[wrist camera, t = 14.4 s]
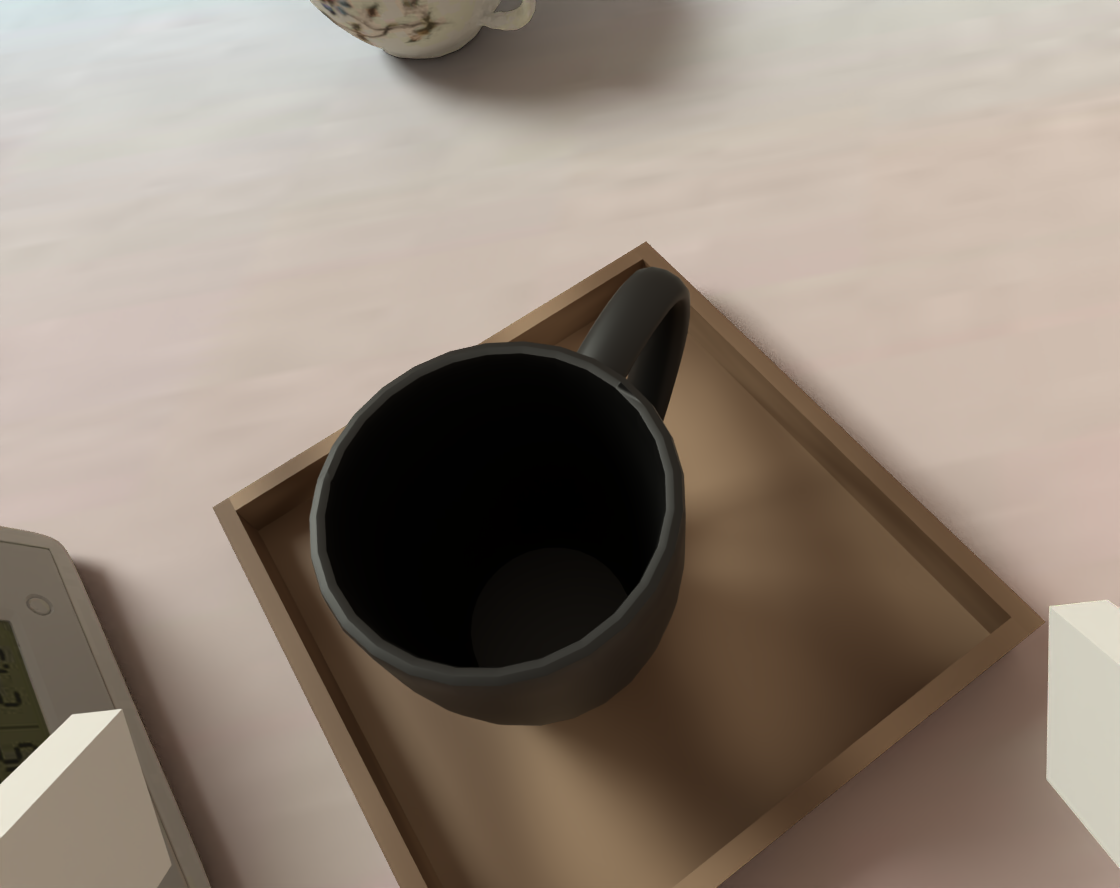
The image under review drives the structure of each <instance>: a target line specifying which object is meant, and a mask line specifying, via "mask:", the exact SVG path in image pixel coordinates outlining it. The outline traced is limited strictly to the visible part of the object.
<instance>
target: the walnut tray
mask: <svg viewBox="0 0 1120 888" xmlns="http://www.w3.org/2000/svg"><path fill="white" fill-rule="evenodd" d="M648 267H658V268H661V269H665V270H668V271H670V272H671V273H673V274H674V275H676V276H677V277H679V278H680V279H681V280H682V282H683V283H684V284H685V286H686V287H687V288H688V290H689V293H690V320H689V327H688V333H687V338H686V343H685V347H684V351H683V355H682V359H681V363H680V367H679V370H678V374H677V377H676V381H675V384H674V388H673V391H672V395H671V398H670V401H669V405H668V408H667V411H666V415H665V418H664V421H663V422H664V424H665V426H666V427H667V429H668V431H669V432H670V434H671V436H672V437H673V440H674V443H675V446H676V450H677V453H678V456H679V459H680V463H681V466H682V469H683V473H684V484H685V508H686V532H685V563H684V570H683V575H682V580H681V585H680V590H679V595H678V600H677V604H676V606H675V609H674V612H673V615H672V617H671V619H670V621H669V623H668V626H667V628H666V630H665V632H664V634H663V636H662V638H661V641H660V643H659V645H658V647H657V649H656V650H655V652H654V653H653V655H652V656H651V657H650V659H649V660H648V661H647V663H646V664H645V665H644V666H643V668H642V669H641V670H640V671H639V673H638V674H637V675H636V677H635V678H634V679H633V680H632V682H631V683H629V684H628V685H627V686H626V687H624V688H623V689H622V690H621V691H619V692H618V693H617V694H616V695H614V696H613V697H612V698H611V699H609V700H608V701H607V702H606V703H604V704H602V705H600V706H598V707H596V708H594V709H592V710H590V711H588V712H586V713H584V714H582V715H580V716H578V717H575V718H573V719H568V720H564V721H559V722H555V723H551V724H546V725H542V726H525V725H497V724H493V723H489V722H486V721H482V720H478V719H474V718H470V717H466V716H462V715H460V714H457V713H454V712H451V711H448V710H446V709H445V708H443V707H441V706H439V705H437V704H435V703H434V702H432V701H430V700H428V699H426V698H424V697H423V696H421V695H419V694H417V693H415V692H414V691H413V690H411V689H410V688H409V687H407V686H406V685H405V684H403V683H402V682H401V681H399V680H398V679H397V678H396V677H394V676H393V675H392V674H391V673H389V672H388V671H387V670H386V669H384V668H383V667H382V666H381V665H380V664H378V663H377V662H376V661H375V660H373V659H372V658H371V657H370V656H369V655H368V654H367V653H366V652H365V651H364V650H363V649H362V648H361V647H360V646H359V645H357V644H356V643H355V642H354V641H353V640H352V639H351V638H350V637H349V636H348V635H347V634H346V633H345V632H344V631H343V630H342V628H341V627H340V625H339V623H338V622H337V620H336V619H335V617H334V615H333V614H332V612H331V610H330V609H329V607H328V605H327V604H326V602H325V601H324V599H323V597H322V594H321V591H320V587H319V584H318V581H317V577H316V574H315V570H314V567H313V564H312V560H311V547H310V521H309V518H310V513H311V508H312V503H313V498H314V493H315V488H316V484H317V479H318V477H319V475H320V472H321V470H322V468H323V466H324V463H325V461H326V459H327V457H328V454H329V452H330V450H331V447H332V445H333V444H334V443H335V441H336V440H337V438H338V437H339V436H340V434H341V433H342V431H343V430H344V428H345V427H346V426H347V425H346V426H345V427H343V428H341V429H340V430H338V431H337V432H335V433H333V434H332V435H330V436H328V437H327V438H325V439H324V440H322V441H320V442H319V443H317V444H315V445H314V446H312V447H310V448H309V449H307V450H306V451H304V452H302V453H301V454H299V455H297V456H296V457H294V458H293V459H291V460H289V461H288V462H286V463H284V464H283V465H281V466H280V467H278V468H276V469H275V470H273V471H271V472H270V473H268V474H266V475H265V476H263V477H262V478H260V479H258V480H257V481H255V482H253V483H252V484H250V485H249V486H247V487H245V488H244V489H242V490H240V491H239V492H237V493H236V494H234V495H232V496H231V497H229V498H227V499H226V500H224V501H222V502H221V503H219V504H218V505H216V506H214V507H213V509H214V511H215V513H216V515H217V517H218V519H219V521H220V523H221V525H222V527H223V530H224V532H225V534H226V536H227V538H228V540H229V542H230V544H231V546H232V548H233V550H234V552H235V554H236V556H237V558H238V560H239V562H240V564H241V566H242V568H243V570H244V572H245V574H246V576H247V578H248V580H249V582H250V584H251V586H252V588H253V590H254V592H255V594H256V596H257V598H258V600H259V603H260V605H261V607H262V609H263V611H264V613H265V615H266V617H267V619H268V621H269V623H270V625H271V627H272V629H273V631H274V633H275V635H276V637H277V639H278V641H279V643H280V645H281V647H282V649H283V651H284V653H285V655H286V657H287V659H288V661H289V663H290V665H291V667H292V669H293V671H294V673H295V676H296V678H297V680H298V682H299V684H300V686H301V688H302V690H303V692H304V694H305V696H306V698H307V700H308V702H309V704H310V706H311V708H312V710H313V712H314V714H315V716H316V718H317V720H318V722H319V724H320V726H321V728H322V730H323V732H324V734H325V736H326V738H327V740H328V742H329V744H330V746H331V749H332V751H333V753H334V755H335V757H336V759H337V761H338V763H339V765H340V767H341V769H342V771H343V773H344V775H345V777H346V779H347V781H348V783H349V785H350V787H351V789H352V791H353V793H354V795H355V797H356V799H357V801H358V803H359V805H360V807H361V809H362V811H363V813H364V815H365V817H366V819H367V822H368V824H369V826H370V828H371V830H372V832H373V834H374V836H375V838H376V840H377V842H378V844H379V846H380V848H381V850H382V852H383V854H384V856H385V858H386V860H387V862H388V864H389V866H390V868H391V870H392V872H393V874H394V876H395V878H396V880H397V882H398V884H399V886H400V888H716V887H718V886H719V885H720V884H721V883H723V882H724V881H725V880H726V879H728V878H729V877H730V876H731V875H733V874H734V873H735V872H736V871H738V870H739V869H740V868H741V867H742V866H744V865H745V864H746V863H747V862H749V861H750V860H751V859H752V858H754V857H755V856H756V855H757V854H759V853H760V852H761V851H762V850H764V849H765V848H766V847H767V846H768V845H770V844H771V843H772V842H773V841H775V840H776V839H777V838H778V837H780V836H781V835H782V834H783V833H785V832H786V831H787V830H788V829H790V828H791V827H792V826H793V825H795V824H796V823H797V822H798V821H799V820H801V819H802V818H803V817H804V816H806V815H807V814H808V813H809V812H811V811H812V810H813V809H814V808H816V807H817V806H818V805H819V804H821V803H822V802H823V801H824V800H825V799H827V798H828V797H829V796H830V795H832V794H833V793H834V792H835V791H837V790H838V789H839V788H840V787H842V786H843V785H844V784H845V783H847V782H848V781H849V780H850V779H852V778H853V777H854V776H855V775H856V774H858V773H859V772H860V771H861V770H863V769H864V768H865V767H866V766H868V765H869V764H870V763H871V762H873V761H874V760H875V759H876V758H878V757H879V756H880V755H881V754H882V753H884V752H885V751H886V750H887V749H889V748H890V747H891V746H892V745H894V744H895V743H896V742H897V741H899V740H900V739H901V738H902V737H904V736H905V735H906V734H907V733H909V732H910V731H911V730H912V729H913V728H915V727H916V726H917V725H918V724H920V723H921V722H922V721H923V720H925V719H926V718H927V717H928V716H930V715H931V714H932V713H933V712H935V711H936V710H937V709H938V708H939V707H941V706H942V705H943V704H944V703H946V702H947V701H948V700H949V699H951V698H952V697H953V696H954V695H956V694H957V693H958V692H959V691H961V690H962V689H963V688H964V687H966V686H967V685H968V684H969V683H970V682H972V681H973V680H974V679H975V678H977V677H978V676H979V675H980V674H982V673H983V672H984V671H985V670H987V669H988V668H989V667H990V666H992V665H993V664H994V663H995V662H996V661H998V660H999V659H1000V658H1001V657H1003V656H1004V655H1005V654H1006V653H1008V652H1009V651H1010V650H1011V649H1013V648H1014V647H1015V646H1016V645H1018V644H1019V643H1020V642H1021V641H1023V640H1024V639H1025V638H1026V637H1027V636H1029V635H1030V634H1031V633H1032V632H1034V631H1035V630H1036V629H1037V628H1039V627H1040V626H1041V625H1042V624H1044V623H1045V621H1044V620H1043V619H1042V618H1041V617H1040V616H1039V615H1038V614H1037V613H1036V612H1035V611H1033V610H1032V609H1031V608H1030V607H1029V606H1028V605H1027V604H1026V603H1025V602H1024V601H1023V600H1022V599H1021V598H1020V597H1019V596H1018V595H1017V594H1016V593H1015V592H1014V591H1012V590H1011V589H1010V588H1009V587H1008V586H1007V585H1006V584H1005V583H1004V582H1003V581H1002V580H1001V579H1000V578H999V577H998V576H997V575H996V574H995V573H994V572H993V571H991V570H990V569H989V568H988V567H987V566H986V565H985V564H984V563H983V562H982V561H981V560H980V559H979V558H978V557H977V556H976V555H975V554H974V553H973V552H972V551H970V550H969V549H968V548H967V547H966V546H965V545H964V544H963V543H962V542H961V541H960V540H959V539H958V538H957V537H956V536H955V535H954V534H953V533H952V532H951V531H949V530H948V529H947V528H946V527H945V526H944V525H943V524H942V523H941V522H940V521H939V520H938V519H937V518H936V517H935V516H934V515H933V514H932V513H931V512H930V511H928V510H927V509H926V508H925V507H924V506H923V505H922V504H921V503H920V502H919V501H918V500H917V499H916V498H915V497H914V496H913V495H912V494H911V493H910V492H909V491H907V490H906V489H905V488H904V487H903V486H902V485H901V484H900V483H899V482H898V481H897V480H896V479H895V478H894V477H893V476H892V475H891V474H890V473H889V472H888V471H886V470H885V469H884V468H883V467H882V466H881V465H880V464H879V463H878V462H877V461H876V460H875V459H874V458H873V457H872V456H871V455H870V454H869V453H868V452H867V451H865V450H864V449H863V448H862V447H861V446H860V445H859V444H858V443H857V442H856V441H855V440H854V439H853V438H852V437H851V436H850V435H849V434H848V433H847V432H846V431H844V430H843V429H842V428H841V427H840V426H839V425H838V424H837V423H836V422H835V421H834V420H833V419H832V418H831V417H830V416H829V415H828V414H827V413H826V412H825V411H823V410H822V409H821V408H820V407H819V406H818V405H817V404H816V403H815V402H814V401H813V400H812V399H811V398H810V397H809V396H808V395H807V394H806V393H805V392H804V391H802V390H801V389H800V388H799V387H798V386H797V385H796V384H795V383H794V382H793V381H792V380H791V379H790V378H789V377H788V376H787V375H786V374H785V373H784V372H783V371H781V370H780V369H779V368H778V367H777V366H776V365H775V364H774V363H773V362H772V361H771V360H770V359H769V358H768V357H767V356H766V355H765V354H764V353H763V352H762V351H760V350H759V349H758V348H757V347H756V346H755V345H754V344H753V343H752V342H751V341H750V340H749V339H748V338H747V337H746V336H745V335H744V334H743V333H742V332H741V331H739V330H738V329H737V328H736V327H735V326H734V325H733V324H732V323H731V322H730V321H729V320H728V319H727V318H726V317H725V316H724V315H723V314H722V313H721V312H720V311H719V310H717V309H716V308H715V307H714V306H713V305H712V304H711V303H710V302H709V301H708V300H707V299H706V298H705V297H704V296H703V295H702V294H701V293H700V292H699V291H698V290H696V289H695V288H694V287H693V286H692V285H691V284H690V283H689V282H688V281H687V280H686V279H685V278H684V277H683V276H682V275H681V274H680V273H679V272H678V271H677V270H675V269H674V268H673V267H672V266H671V265H670V264H669V263H668V262H667V261H666V260H665V259H664V258H663V257H662V256H661V255H660V254H659V253H658V252H657V251H656V250H654V249H653V248H652V247H651V246H650V245H649V244H648V243H647V242H645V243H643V244H641V245H640V246H638V247H636V248H635V249H633V250H632V251H630V252H628V253H627V254H625V255H623V256H622V257H620V258H618V259H617V260H615V261H614V262H612V263H610V264H609V265H607V266H605V267H604V268H602V269H601V270H599V271H597V272H596V273H594V274H592V275H591V276H589V277H588V278H586V279H584V280H583V281H581V282H579V283H578V284H576V285H574V286H573V287H571V288H570V289H568V290H566V291H565V292H563V293H561V294H560V295H558V296H557V297H555V298H553V299H552V300H550V301H548V302H547V303H545V304H544V305H542V306H540V307H539V308H537V309H535V310H534V311H532V312H530V313H529V314H527V315H526V316H524V317H522V318H521V319H519V320H517V321H516V322H514V323H513V324H511V325H509V326H508V327H506V328H504V329H503V330H501V331H500V332H498V333H496V334H495V335H493V336H491V337H490V338H488V339H486V340H485V341H483V342H482V343H480V344H484V343H498V342H519V341H525V342H532V343H539V344H546V345H553V346H560V347H563V348H566V349H569V350H572V351H574V352H577V351H578V349H579V347H580V346H581V344H582V342H583V341H584V339H585V337H586V336H587V334H588V332H589V331H590V329H591V327H592V326H593V324H594V323H595V321H596V320H597V318H598V317H599V315H600V314H601V312H602V311H603V309H604V308H605V306H606V305H607V303H608V302H609V301H610V299H611V298H612V297H613V295H614V294H615V293H616V291H617V290H618V289H619V288H620V287H621V286H622V285H623V283H624V282H625V281H626V280H627V279H628V278H629V277H630V276H631V275H632V274H634V273H635V272H636V271H637V270H639V269H643V268H648ZM480 344H478V345H480ZM627 377H628V375H627ZM627 377H626V379H627Z"/></svg>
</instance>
